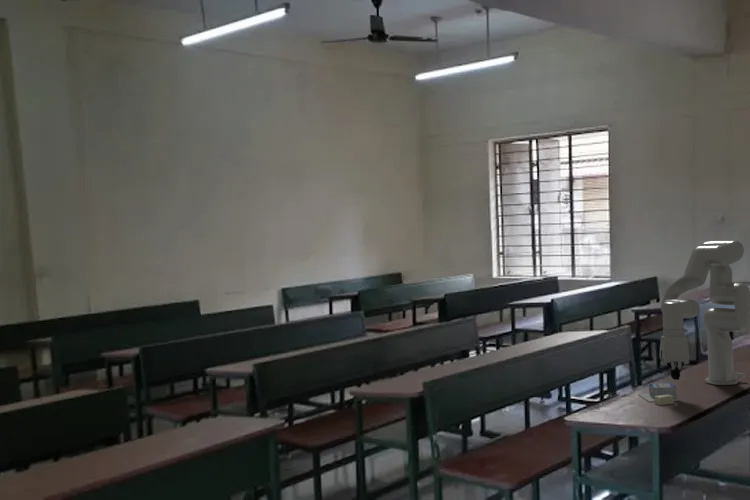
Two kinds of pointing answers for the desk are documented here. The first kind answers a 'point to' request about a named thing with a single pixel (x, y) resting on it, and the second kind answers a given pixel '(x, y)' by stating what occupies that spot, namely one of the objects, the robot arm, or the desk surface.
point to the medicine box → (662, 389)
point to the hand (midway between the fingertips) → (675, 379)
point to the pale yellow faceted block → (664, 399)
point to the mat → (650, 397)
